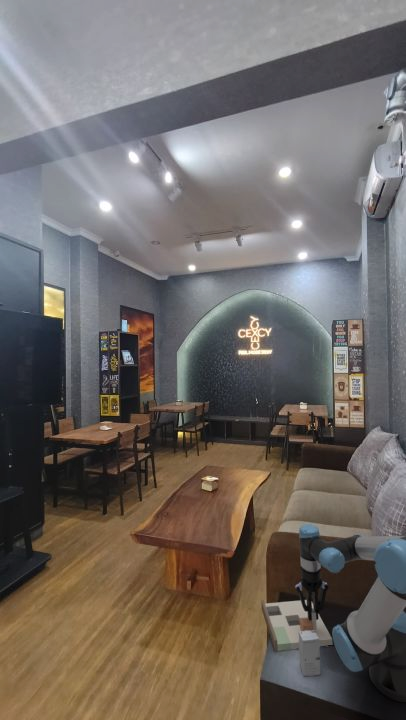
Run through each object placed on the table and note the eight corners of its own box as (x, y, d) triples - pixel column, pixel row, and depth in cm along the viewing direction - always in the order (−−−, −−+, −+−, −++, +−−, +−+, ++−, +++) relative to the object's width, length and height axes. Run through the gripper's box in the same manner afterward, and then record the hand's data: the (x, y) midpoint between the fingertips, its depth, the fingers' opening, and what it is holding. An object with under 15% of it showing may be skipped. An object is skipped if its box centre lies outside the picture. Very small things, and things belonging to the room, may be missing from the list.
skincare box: (304, 677, 117) (302, 641, 118) (299, 665, 122) (297, 631, 122) (321, 674, 118) (319, 639, 118) (316, 663, 122) (314, 629, 123)
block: (313, 635, 132) (313, 624, 132) (303, 636, 132) (303, 625, 132) (310, 627, 136) (309, 617, 136) (300, 628, 136) (299, 618, 136)
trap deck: (332, 645, 130) (332, 635, 130) (275, 651, 128) (274, 640, 128) (310, 605, 152) (310, 596, 152) (261, 609, 150) (261, 600, 150)
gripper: (323, 560, 138) (326, 618, 138) (291, 562, 138) (294, 621, 138) (331, 571, 131) (334, 633, 131) (297, 573, 130) (300, 636, 130)
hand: (313, 627), depth 134 cm, fingers closed
